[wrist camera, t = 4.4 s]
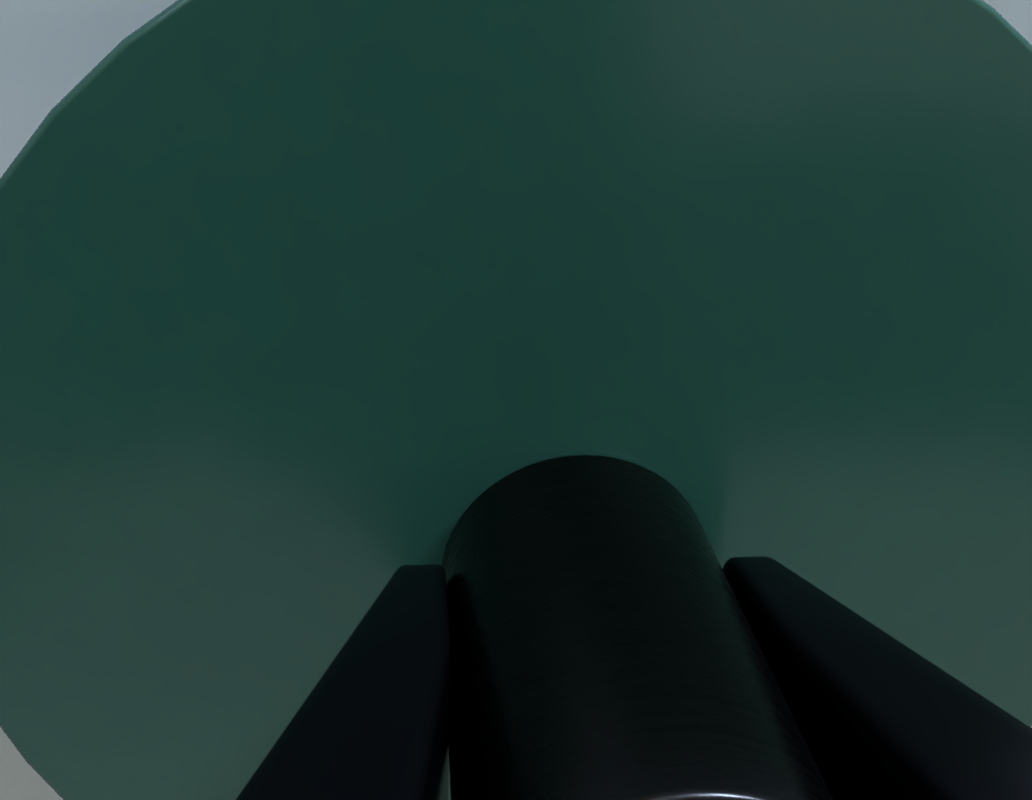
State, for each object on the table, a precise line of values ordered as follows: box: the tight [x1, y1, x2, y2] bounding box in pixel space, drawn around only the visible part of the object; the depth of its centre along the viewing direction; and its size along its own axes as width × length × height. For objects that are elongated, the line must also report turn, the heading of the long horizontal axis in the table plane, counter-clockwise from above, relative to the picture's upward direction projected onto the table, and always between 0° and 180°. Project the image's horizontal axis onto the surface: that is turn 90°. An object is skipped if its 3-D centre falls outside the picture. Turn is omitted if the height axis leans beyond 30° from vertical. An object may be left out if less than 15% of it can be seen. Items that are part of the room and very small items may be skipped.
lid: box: [0, 0, 1032, 800], centre depth 8 cm, size 12×12×5 cm
